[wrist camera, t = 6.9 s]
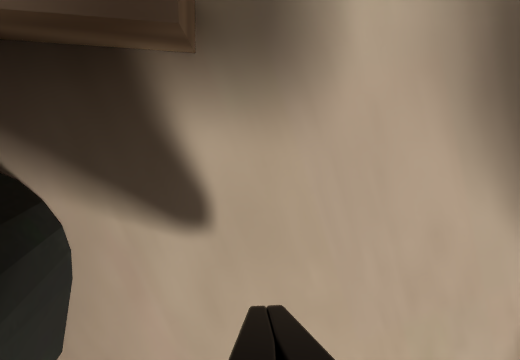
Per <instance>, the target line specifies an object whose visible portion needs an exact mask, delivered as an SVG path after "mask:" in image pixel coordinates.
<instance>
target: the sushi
mask: <svg viewBox="0 0 520 360" xmlns="http://www.w3.org/2000/svg"><path fill="white" fill-rule="evenodd" d="M71 285H72V262H71V249H70V247H69V244H68V241H67V238H66V235H65V233H64V230H63V227H62V225H61V224H60V223H59V222H58V220H57V219H56V218H55V216H54V215H53V214H52V212H51V211H50V210H49V209H48V207H47V206H46V205H45V203H44V202H43V201H42V200H41V199H39V198H38V197H37V196H36V195H35V194H33V193H32V192H31V191H30V190H28V189H27V188H26V187H25V186H24V185H22V184H21V183H20V182H19V181H17V180H15V179H13V178H11V177H8V176H6V175H4V174H1V173H0V360H57V358H58V357H59V355H60V354H61V352H62V348H63V341H64V334H65V327H66V320H67V313H68V306H69V299H70V292H71Z"/></svg>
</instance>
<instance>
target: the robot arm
mask: <svg viewBox="0 0 520 360" xmlns="http://www.w3.org/2000/svg"><path fill="white" fill-rule="evenodd" d="M229 360H335V359H334V358H333V357H332V356H331V355H330V354H329V353H328V352H327V351H326V350H325V349H324V348H323V347H322V346H321V345H320V344H319V343H318V342H317V341H316V340H315V339H314V338H313V337H312V335H311V334H310V333H309V332H308V331H307V330H306V329H305V328H304V327H303V326H302V325H301V324H300V323H299V322H298V321H297V320H296V319H295V318H294V317H293V316H292V315H291V314H290V313H289V312H288V311H287V310H286V309H285V308H284V307H283V306H282V305H270V306H267V308H266V307H265V306H251V307H250V308H249V310H248V313H247V315H246V318H245V320H244V323H243V325H242V328H241V330H240V333H239V335H238V338H237V340H236V343H235V345H234V348H233V350H232V352H231V355H230V357H229Z"/></svg>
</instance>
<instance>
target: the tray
mask: <svg viewBox="0 0 520 360" xmlns="http://www.w3.org/2000/svg"><path fill="white" fill-rule="evenodd" d="M0 39H3V40H17V41H32V42H46V43H61V44H75V45H90V46H104V47H119V48H133V49H148V50H162V51H177V52H191V53H195V0H0Z"/></svg>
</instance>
